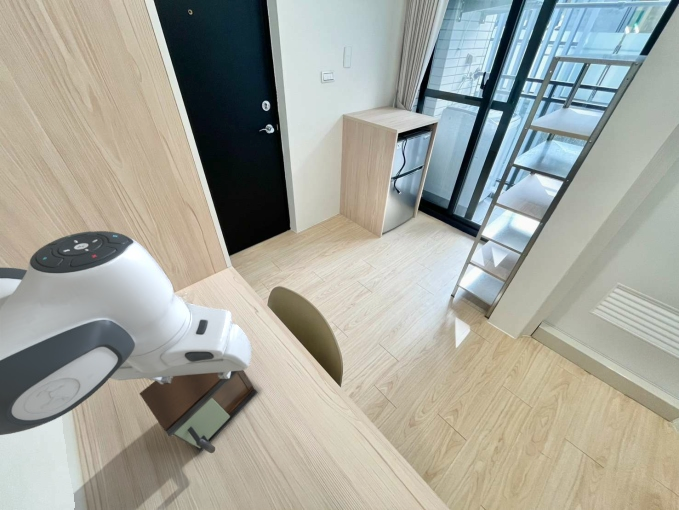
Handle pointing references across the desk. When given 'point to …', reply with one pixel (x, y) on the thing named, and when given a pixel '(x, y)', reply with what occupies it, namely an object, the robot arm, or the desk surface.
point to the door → (203, 425)
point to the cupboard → (197, 398)
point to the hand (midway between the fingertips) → (197, 376)
